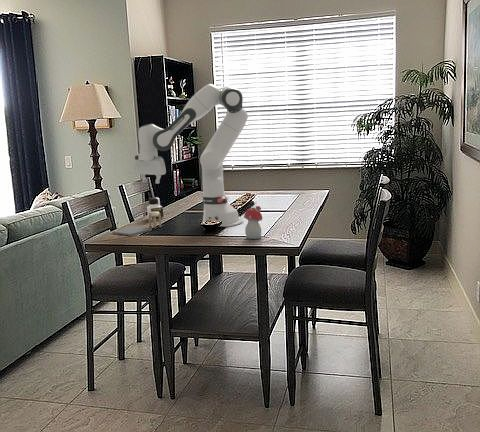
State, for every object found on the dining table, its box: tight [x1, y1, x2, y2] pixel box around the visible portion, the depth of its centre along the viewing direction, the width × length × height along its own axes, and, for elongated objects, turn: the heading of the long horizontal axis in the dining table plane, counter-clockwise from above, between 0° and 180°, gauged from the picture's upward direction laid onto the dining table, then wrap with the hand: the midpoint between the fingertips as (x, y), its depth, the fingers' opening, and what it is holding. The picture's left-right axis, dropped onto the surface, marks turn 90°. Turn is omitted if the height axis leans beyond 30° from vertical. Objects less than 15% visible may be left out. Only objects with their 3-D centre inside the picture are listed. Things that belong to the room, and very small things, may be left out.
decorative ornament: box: [243, 205, 263, 240], centre depth 251 cm, size 9×7×15 cm
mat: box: [112, 225, 153, 237], centre depth 282 cm, size 14×14×1 cm
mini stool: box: [147, 211, 162, 230], centre depth 289 cm, size 6×6×8 cm
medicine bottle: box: [146, 197, 164, 221], centre depth 313 cm, size 7×7×12 cm
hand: (151, 183), depth 286 cm, fingers open, 8 cm apart
